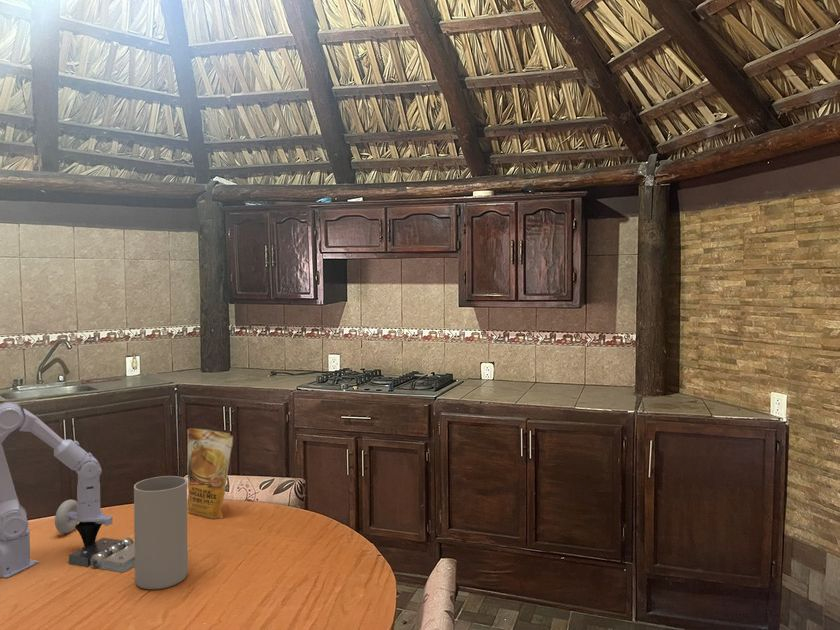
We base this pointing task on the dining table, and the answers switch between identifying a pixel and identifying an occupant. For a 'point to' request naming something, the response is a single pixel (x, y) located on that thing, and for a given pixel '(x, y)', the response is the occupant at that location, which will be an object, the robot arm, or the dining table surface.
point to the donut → (60, 517)
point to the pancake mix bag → (207, 470)
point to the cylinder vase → (160, 532)
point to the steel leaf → (116, 557)
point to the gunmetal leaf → (93, 551)
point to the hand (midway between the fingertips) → (89, 547)
